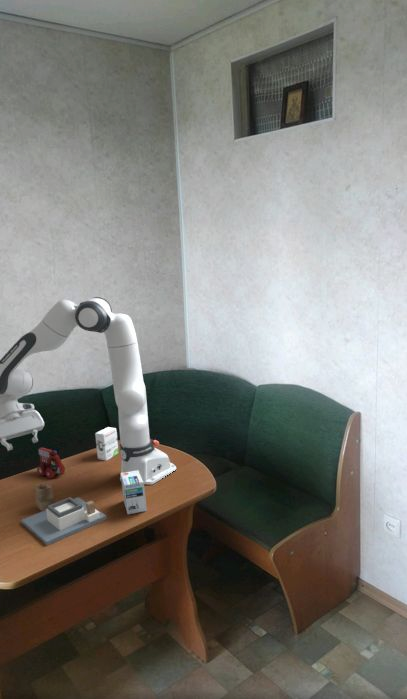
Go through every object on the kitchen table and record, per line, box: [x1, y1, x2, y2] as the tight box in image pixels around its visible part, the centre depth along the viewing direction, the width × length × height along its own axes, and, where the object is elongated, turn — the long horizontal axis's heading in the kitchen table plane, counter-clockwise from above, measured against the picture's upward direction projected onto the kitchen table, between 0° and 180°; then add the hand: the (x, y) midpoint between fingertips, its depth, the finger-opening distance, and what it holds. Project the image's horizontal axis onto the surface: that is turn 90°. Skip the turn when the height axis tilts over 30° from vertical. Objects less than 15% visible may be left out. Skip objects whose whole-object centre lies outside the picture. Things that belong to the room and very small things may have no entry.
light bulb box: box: [120, 470, 148, 515], centre depth 182 cm, size 11×7×11 cm, turn 17°
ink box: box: [94, 426, 120, 461], centre depth 226 cm, size 9×5×12 cm, turn 150°
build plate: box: [20, 496, 107, 546], centre depth 175 cm, size 21×19×7 cm
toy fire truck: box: [36, 447, 66, 479], centre depth 212 cm, size 7×12×10 cm, turn 54°
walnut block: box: [33, 482, 55, 512], centre depth 186 cm, size 4×4×8 cm
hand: (23, 445), depth 192 cm, fingers open, 8 cm apart
